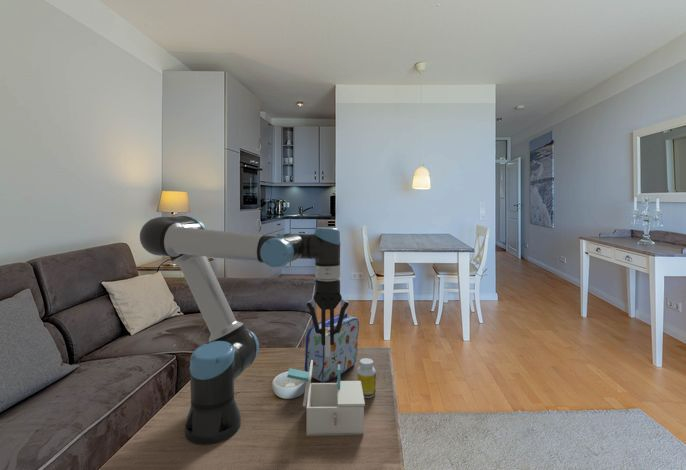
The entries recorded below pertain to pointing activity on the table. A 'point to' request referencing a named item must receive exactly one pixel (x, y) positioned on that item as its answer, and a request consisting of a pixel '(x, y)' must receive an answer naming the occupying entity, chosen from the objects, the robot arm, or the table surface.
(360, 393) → the far flap
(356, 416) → the carton
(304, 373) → the flap
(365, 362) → the pill bottle
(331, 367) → the lunch box
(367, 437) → the table surface
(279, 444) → the table surface
